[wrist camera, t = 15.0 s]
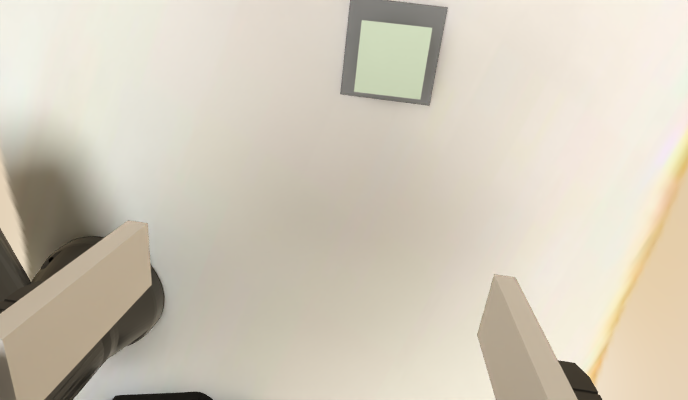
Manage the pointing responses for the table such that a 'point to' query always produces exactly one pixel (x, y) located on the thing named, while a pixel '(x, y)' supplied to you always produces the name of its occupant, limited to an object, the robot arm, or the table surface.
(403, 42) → the block
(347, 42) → the mat
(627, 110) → the table surface
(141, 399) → the sign
